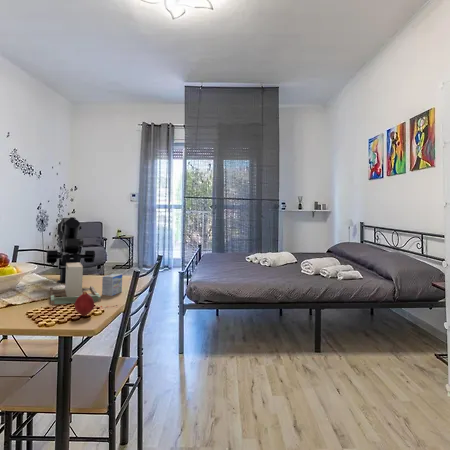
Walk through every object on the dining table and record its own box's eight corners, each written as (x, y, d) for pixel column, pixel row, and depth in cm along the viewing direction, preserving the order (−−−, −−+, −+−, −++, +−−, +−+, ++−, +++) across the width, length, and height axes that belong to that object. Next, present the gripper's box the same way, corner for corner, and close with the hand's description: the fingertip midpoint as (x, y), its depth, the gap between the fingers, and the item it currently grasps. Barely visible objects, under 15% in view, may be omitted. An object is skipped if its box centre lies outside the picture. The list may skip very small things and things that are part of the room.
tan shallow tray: (49, 293, 139) (49, 285, 139) (92, 291, 146) (92, 283, 146) (50, 308, 118) (51, 298, 118) (100, 305, 126) (101, 295, 126)
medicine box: (111, 299, 135) (112, 277, 134) (101, 298, 135) (102, 276, 135) (121, 295, 142) (122, 274, 142) (111, 294, 143) (112, 273, 143)
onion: (77, 313, 115) (78, 289, 114) (95, 313, 115) (96, 289, 115) (71, 318, 109) (72, 292, 109) (90, 318, 109) (91, 293, 109)
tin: (64, 290, 139) (66, 262, 139) (78, 289, 142) (79, 262, 141) (66, 297, 129) (68, 267, 128) (81, 296, 131) (83, 266, 131)
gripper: (47, 230, 145) (47, 260, 135) (95, 231, 153) (98, 260, 144) (46, 248, 152) (46, 277, 142) (92, 248, 160) (94, 276, 151)
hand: (71, 272), depth 145 cm, fingers closed
